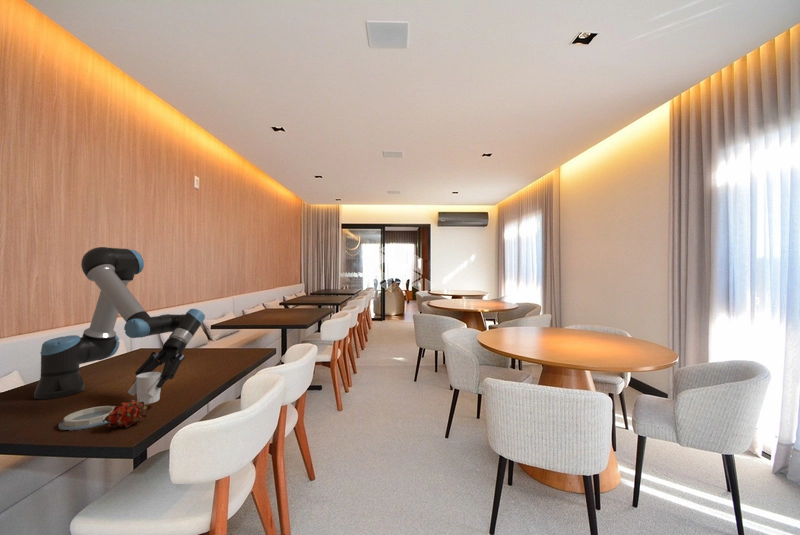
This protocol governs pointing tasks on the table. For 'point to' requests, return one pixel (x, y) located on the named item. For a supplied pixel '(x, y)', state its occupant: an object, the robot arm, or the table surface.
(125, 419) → the dragon fruit
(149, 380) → the white cup
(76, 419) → the ring plate
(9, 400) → the table surface
